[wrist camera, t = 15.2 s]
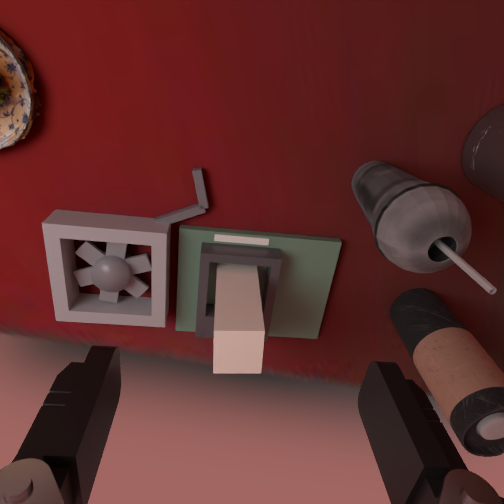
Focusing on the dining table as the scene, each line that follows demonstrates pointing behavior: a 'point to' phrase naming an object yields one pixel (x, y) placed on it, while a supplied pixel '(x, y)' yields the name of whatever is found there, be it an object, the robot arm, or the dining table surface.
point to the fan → (113, 263)
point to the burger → (15, 93)
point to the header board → (269, 275)
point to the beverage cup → (415, 220)
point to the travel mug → (453, 370)
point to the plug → (238, 320)
